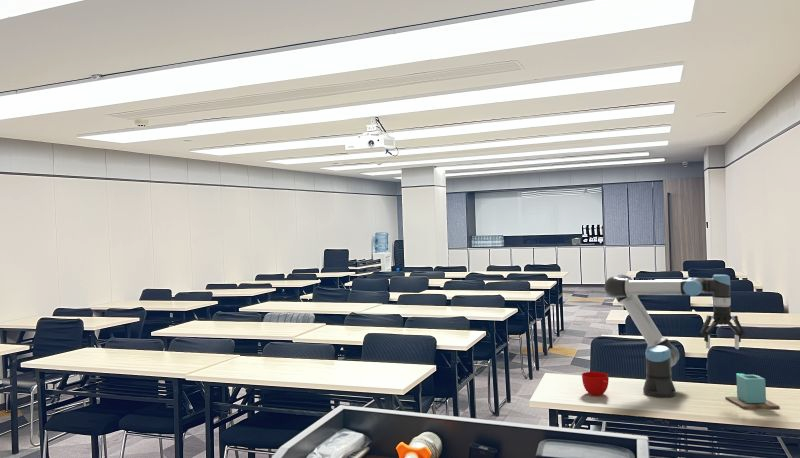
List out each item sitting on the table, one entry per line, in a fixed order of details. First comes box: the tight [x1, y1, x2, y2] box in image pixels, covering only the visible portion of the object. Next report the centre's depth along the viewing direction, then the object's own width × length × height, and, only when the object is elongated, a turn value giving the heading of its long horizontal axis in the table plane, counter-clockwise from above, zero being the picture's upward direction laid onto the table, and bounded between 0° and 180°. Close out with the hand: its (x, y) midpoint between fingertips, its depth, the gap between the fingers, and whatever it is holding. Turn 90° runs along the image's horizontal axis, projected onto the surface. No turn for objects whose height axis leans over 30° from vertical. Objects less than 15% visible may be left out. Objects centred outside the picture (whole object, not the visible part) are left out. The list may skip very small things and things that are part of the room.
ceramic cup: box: [581, 371, 609, 397], centre depth 288 cm, size 13×17×10 cm
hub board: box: [724, 396, 781, 410], centre depth 266 cm, size 16×16×12 cm
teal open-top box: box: [735, 374, 767, 403], centre depth 266 cm, size 8×8×11 cm
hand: (722, 348), depth 281 cm, fingers open, 13 cm apart
